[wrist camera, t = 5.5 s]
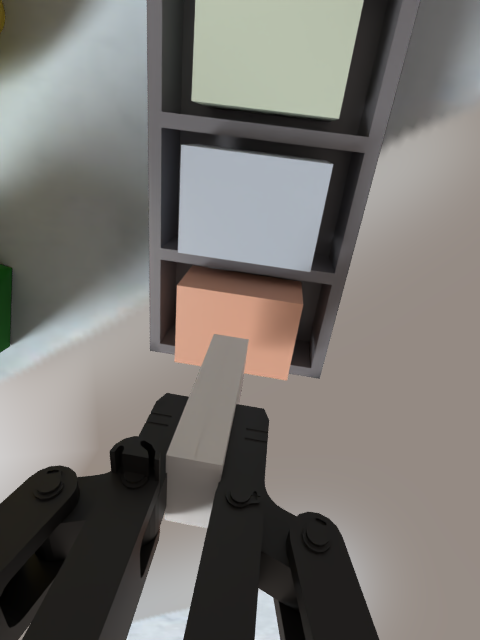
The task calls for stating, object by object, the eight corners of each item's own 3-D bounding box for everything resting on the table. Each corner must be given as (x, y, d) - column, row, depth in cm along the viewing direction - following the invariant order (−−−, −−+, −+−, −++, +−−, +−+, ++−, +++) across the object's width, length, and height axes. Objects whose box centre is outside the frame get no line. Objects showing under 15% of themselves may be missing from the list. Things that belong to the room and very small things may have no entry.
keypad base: (189, -219, 14) (143, -380, 10) (443, -202, 14) (518, -366, 9) (174, 313, 25) (149, 350, 21) (314, 335, 25) (319, 378, 20)
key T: (213, -14, 15) (197, -46, 12) (355, 1, 15) (369, -30, 12) (206, 106, 17) (191, 101, 14) (331, 121, 17) (339, 118, 14)
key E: (192, 265, 19) (177, 285, 17) (301, 281, 19) (303, 304, 16) (189, 334, 21) (174, 361, 19) (287, 350, 21) (287, 380, 18)
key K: (198, 143, 17) (180, 144, 14) (326, 160, 16) (333, 164, 14) (193, 236, 19) (177, 252, 16) (307, 252, 18) (310, 272, 16)
